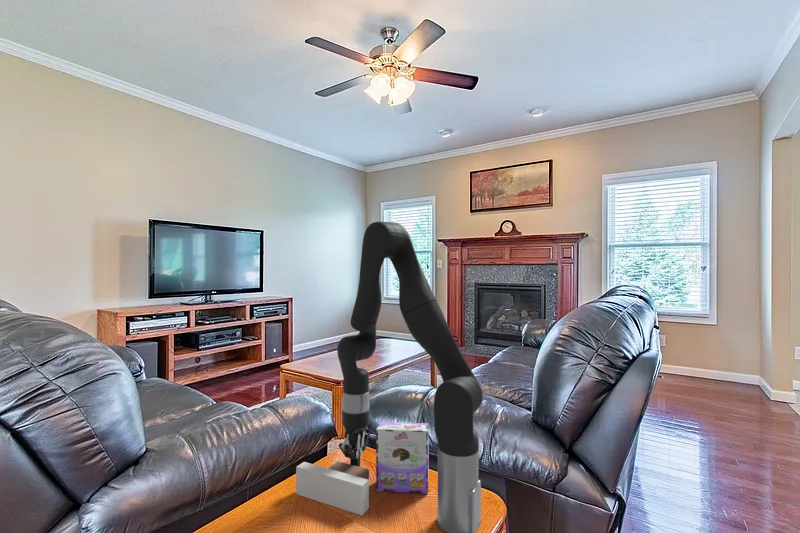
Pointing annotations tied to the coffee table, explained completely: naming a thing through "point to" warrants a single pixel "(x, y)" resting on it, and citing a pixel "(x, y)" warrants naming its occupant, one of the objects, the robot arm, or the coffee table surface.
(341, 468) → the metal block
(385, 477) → the candy box
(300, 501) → the coffee table surface
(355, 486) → the painted board
